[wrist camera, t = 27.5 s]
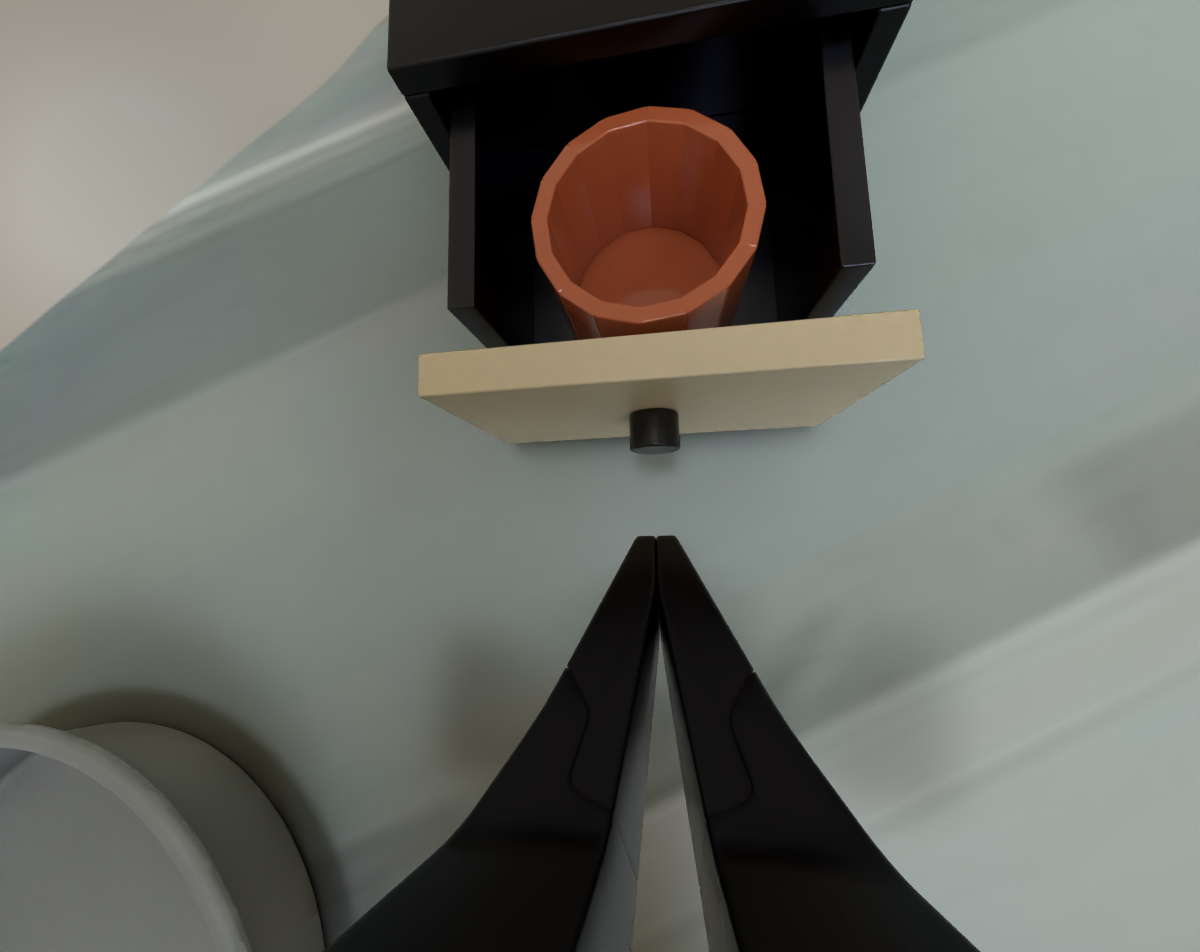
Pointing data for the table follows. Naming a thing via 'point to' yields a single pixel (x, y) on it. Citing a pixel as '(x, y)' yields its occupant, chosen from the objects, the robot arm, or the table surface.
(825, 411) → the drawer
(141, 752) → the cake pan
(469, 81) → the black rectangular box
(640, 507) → the table surface
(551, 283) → the ramekin
